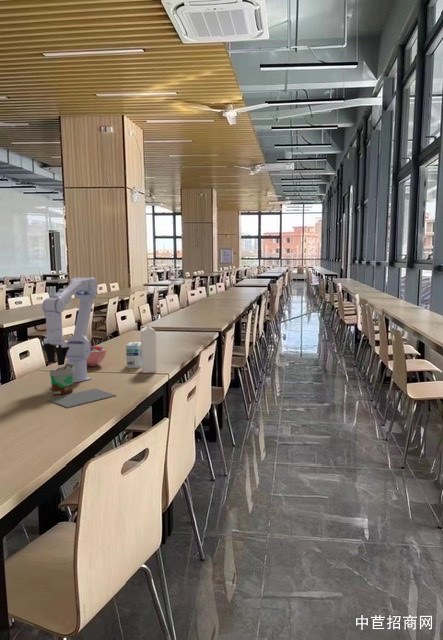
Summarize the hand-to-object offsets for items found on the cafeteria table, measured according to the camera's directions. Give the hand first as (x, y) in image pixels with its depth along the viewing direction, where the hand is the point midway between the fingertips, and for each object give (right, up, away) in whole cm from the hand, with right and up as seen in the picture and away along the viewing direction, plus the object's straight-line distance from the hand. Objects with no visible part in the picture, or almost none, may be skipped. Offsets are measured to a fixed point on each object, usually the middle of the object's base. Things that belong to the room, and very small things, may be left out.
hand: (56, 363), depth 191 cm
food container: (+5, -11, -3) cm, 13 cm away
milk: (+31, -6, +32) cm, 45 cm away
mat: (+13, -12, -11) cm, 21 cm away
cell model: (0, -5, +44) cm, 44 cm away
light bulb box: (+23, -5, +44) cm, 50 cm away
